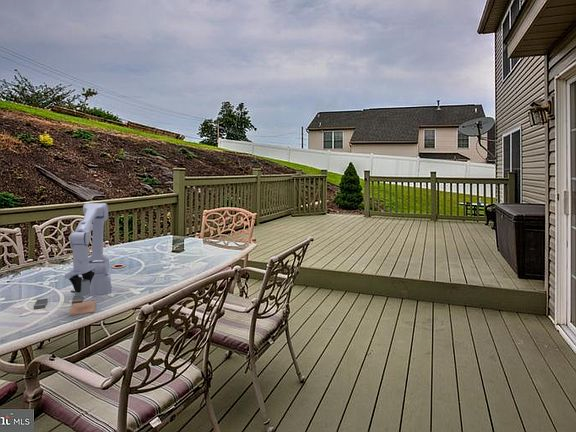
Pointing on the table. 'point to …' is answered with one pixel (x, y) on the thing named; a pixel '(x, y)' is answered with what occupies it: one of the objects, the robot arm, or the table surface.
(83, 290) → the plug
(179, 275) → the table surface
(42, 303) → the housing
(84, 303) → the mat
